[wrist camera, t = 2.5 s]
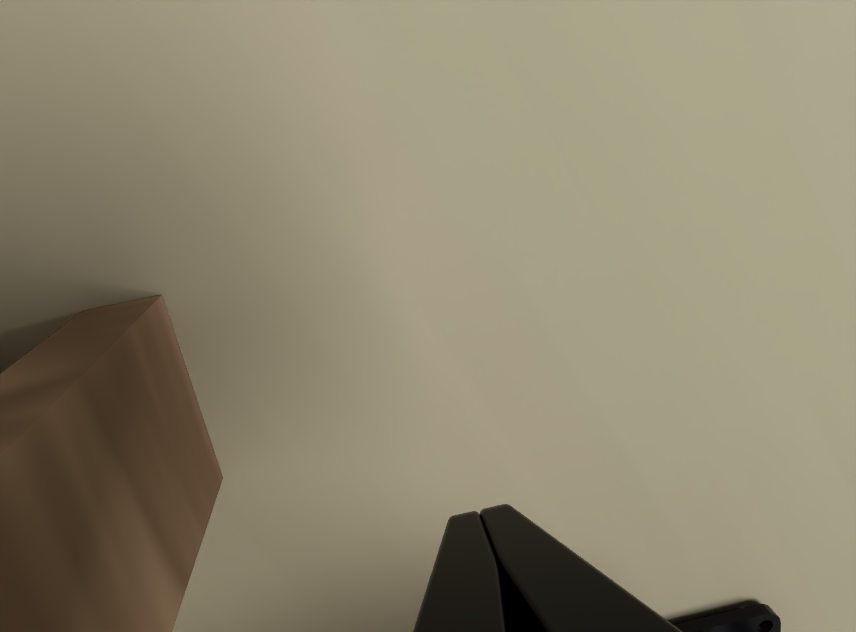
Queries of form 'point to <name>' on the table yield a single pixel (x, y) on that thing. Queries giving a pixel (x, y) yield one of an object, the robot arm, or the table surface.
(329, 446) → the table surface
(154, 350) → the domino
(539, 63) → the table surface
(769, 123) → the table surface
